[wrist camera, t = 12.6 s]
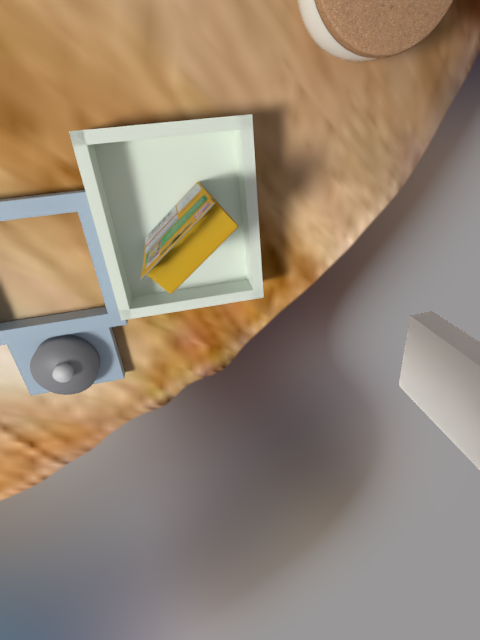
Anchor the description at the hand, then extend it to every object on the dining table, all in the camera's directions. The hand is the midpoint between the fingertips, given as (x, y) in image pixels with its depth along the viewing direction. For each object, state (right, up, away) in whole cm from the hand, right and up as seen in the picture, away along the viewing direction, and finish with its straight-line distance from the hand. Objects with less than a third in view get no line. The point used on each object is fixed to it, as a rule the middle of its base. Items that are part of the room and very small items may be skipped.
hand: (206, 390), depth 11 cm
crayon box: (-4, +12, +23) cm, 26 cm away
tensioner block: (-18, +4, +25) cm, 31 cm away
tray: (-5, +12, +24) cm, 27 cm away
